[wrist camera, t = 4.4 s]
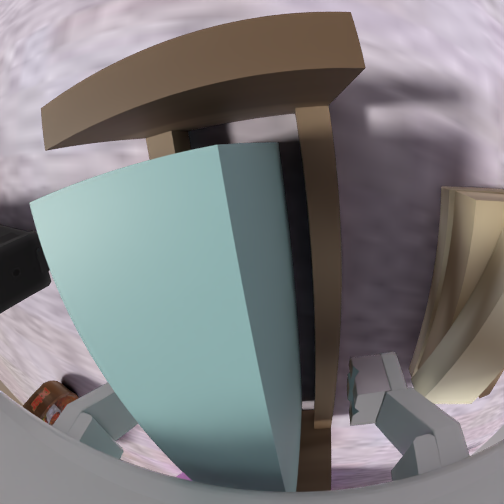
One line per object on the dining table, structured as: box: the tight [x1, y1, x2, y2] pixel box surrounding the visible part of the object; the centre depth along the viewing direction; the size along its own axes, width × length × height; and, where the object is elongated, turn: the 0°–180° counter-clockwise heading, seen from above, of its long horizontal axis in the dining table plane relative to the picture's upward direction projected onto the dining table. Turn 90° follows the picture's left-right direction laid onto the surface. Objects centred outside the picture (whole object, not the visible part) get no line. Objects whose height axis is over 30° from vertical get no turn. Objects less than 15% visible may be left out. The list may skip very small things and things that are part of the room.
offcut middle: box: [417, 191, 504, 370], centre depth 8 cm, size 9×5×2 cm, turn 7°
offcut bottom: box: [409, 186, 504, 377], centre depth 10 cm, size 10×5×2 cm, turn 8°
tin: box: [23, 381, 78, 426], centre depth 18 cm, size 15×3×8 cm, turn 157°
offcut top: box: [411, 228, 504, 404], centre depth 7 cm, size 8×4×2 cm, turn 164°
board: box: [30, 142, 302, 492], centre depth 8 cm, size 14×2×8 cm, turn 9°
